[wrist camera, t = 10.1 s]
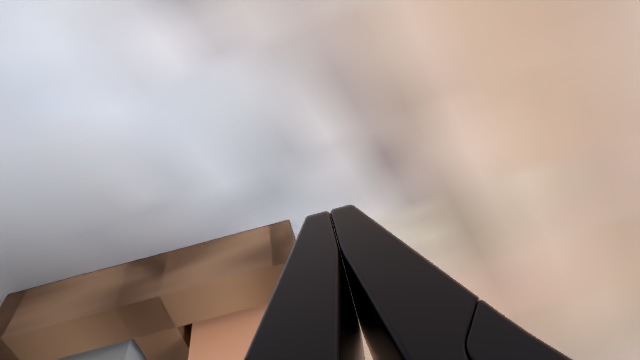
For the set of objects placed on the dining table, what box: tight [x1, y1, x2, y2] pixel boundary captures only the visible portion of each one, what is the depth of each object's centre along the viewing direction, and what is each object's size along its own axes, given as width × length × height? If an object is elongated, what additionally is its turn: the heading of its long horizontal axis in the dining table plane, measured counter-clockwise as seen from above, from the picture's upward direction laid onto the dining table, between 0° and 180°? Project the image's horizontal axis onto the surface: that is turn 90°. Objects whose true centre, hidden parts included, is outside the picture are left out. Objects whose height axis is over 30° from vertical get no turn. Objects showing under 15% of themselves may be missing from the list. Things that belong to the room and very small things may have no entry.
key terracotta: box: [188, 303, 268, 360], centre depth 22 cm, size 4×4×4 cm
